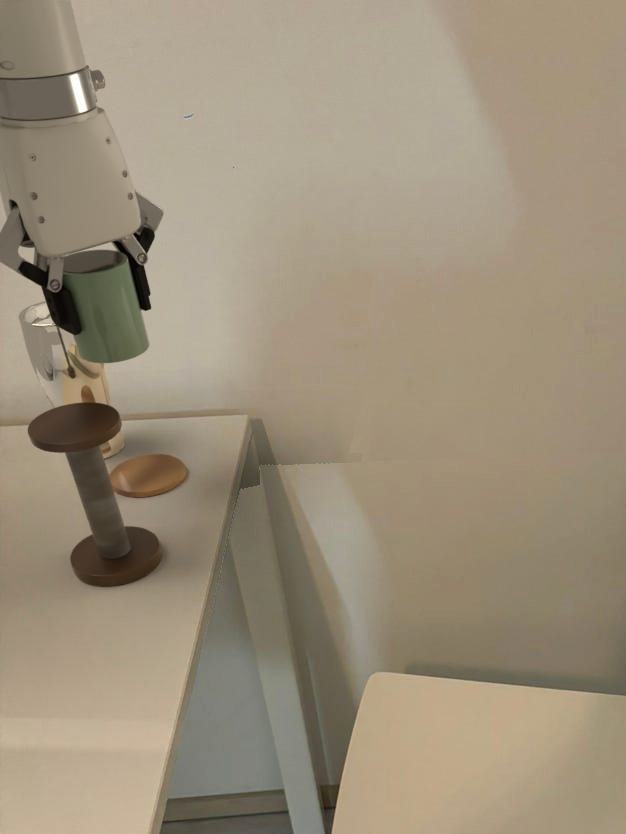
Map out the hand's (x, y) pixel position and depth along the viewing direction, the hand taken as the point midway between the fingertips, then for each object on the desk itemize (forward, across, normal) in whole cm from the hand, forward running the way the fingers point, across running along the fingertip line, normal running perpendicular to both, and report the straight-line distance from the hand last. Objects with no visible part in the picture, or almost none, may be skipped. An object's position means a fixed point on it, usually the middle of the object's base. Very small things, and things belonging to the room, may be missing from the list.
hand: (105, 316), depth 86 cm
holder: (+17, +10, +10) cm, 22 cm away
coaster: (+17, 0, 0) cm, 17 cm away
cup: (+3, 0, 0) cm, 3 cm away
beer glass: (+17, 0, -10) cm, 20 cm away
